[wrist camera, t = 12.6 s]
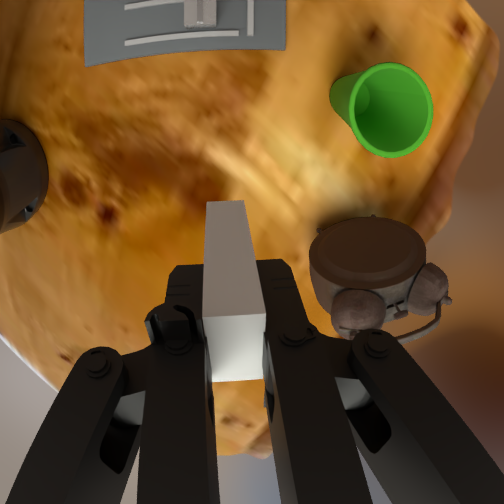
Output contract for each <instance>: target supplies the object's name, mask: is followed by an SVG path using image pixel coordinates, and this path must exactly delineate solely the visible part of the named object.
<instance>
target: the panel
mask: <svg viewBox="0 0 504 504" xmlns="http://www.w3.org/2000/svg"><path fill="white" fill-rule="evenodd" d="M285 41H286V0H216V28H205V29H190V30H187V29H186V27H185V26H184V0H84V56H85V67H90V66H95V65H99V64H104V63H109V62H114V61H120V60H126V59H132V58H138V57H145V56H152V55H160V54H169V53H179V52H191V51H207V50H242V49H249V50H285Z"/></svg>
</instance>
